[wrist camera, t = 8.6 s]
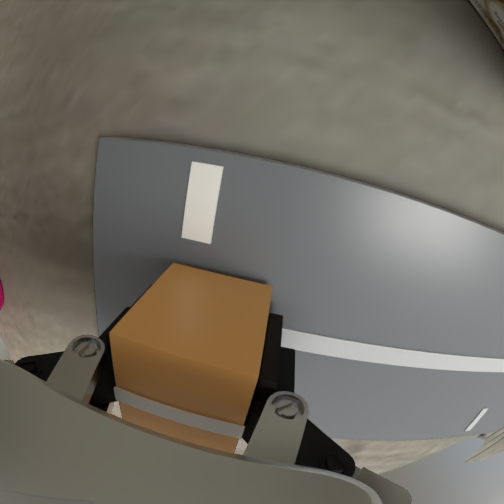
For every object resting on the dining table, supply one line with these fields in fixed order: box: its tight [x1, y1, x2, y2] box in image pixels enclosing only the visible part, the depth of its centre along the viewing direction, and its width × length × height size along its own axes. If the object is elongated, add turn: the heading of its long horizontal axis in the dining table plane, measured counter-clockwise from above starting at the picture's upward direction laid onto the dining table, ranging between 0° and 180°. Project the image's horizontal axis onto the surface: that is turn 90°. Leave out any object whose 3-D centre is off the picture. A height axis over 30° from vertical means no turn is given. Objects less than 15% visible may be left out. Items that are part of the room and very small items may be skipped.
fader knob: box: [109, 263, 273, 453], centre depth 10 cm, size 4×5×5 cm
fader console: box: [93, 137, 504, 441], centre depth 13 cm, size 30×14×2 cm, turn 79°
